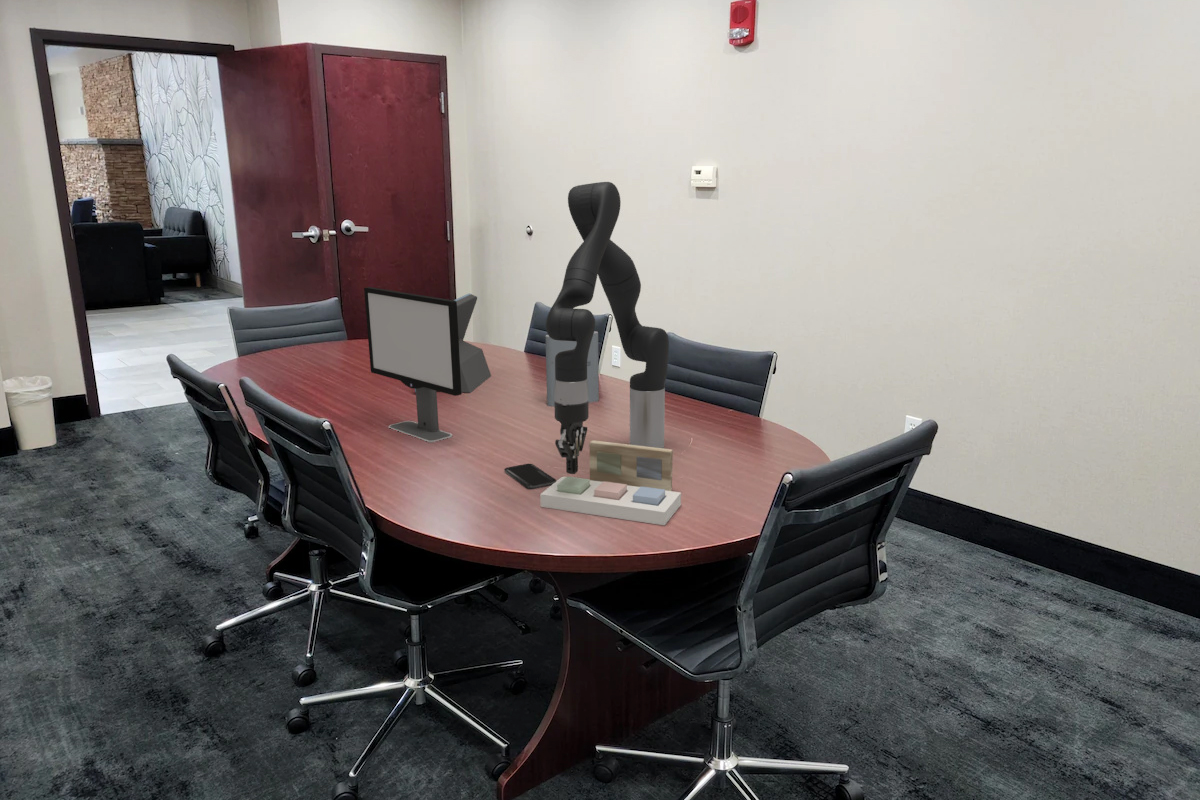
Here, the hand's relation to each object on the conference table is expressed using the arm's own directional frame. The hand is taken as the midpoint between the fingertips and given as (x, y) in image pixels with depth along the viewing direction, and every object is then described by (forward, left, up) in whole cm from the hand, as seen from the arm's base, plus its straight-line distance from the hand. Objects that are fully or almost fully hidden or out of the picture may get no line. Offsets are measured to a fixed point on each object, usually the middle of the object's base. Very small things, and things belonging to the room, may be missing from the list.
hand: (572, 472), depth 191 cm
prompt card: (-13, +9, -7) cm, 17 cm away
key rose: (0, +9, -5) cm, 11 cm away
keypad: (0, +9, -7) cm, 11 cm away
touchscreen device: (-85, -82, -7) cm, 119 cm away
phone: (-10, -16, -7) cm, 20 cm away
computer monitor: (-32, -62, -7) cm, 70 cm away
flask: (-76, -33, -7) cm, 83 cm away
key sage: (0, 0, -5) cm, 5 cm away
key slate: (0, +18, -5) cm, 19 cm away
